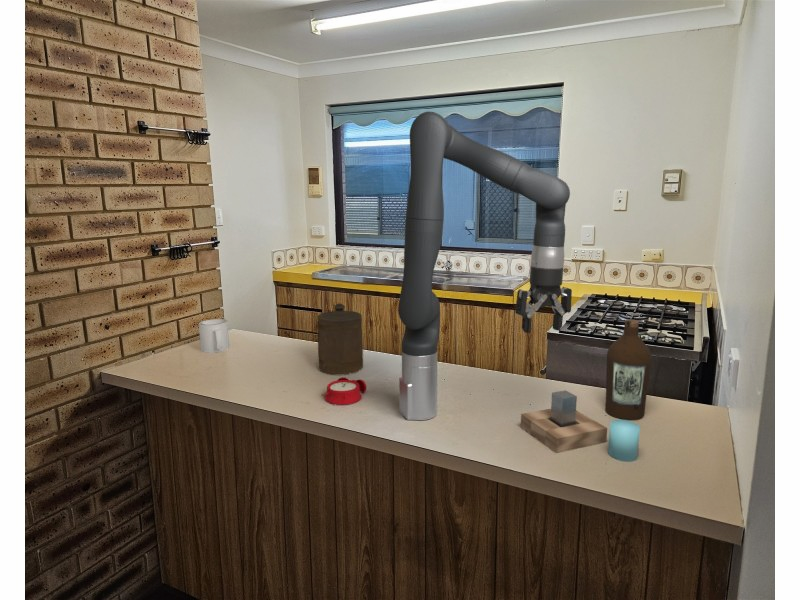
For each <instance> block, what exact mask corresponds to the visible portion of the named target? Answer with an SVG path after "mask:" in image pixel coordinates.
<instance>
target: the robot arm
mask: <svg viewBox="0 0 800 600" xmlns="http://www.w3.org/2000/svg"><path fill="white" fill-rule="evenodd" d="M409 150H410V152H409V153H410V155H409V156H410V175H409V185H408V191H407V202H406V211H405V212H406V213H405V222H404V224H405V226H404V245H403V246H404V247H403V248H404V250H403V252H404V253H403V276H402V283H401V289H400V294H399V300H398V306H397V311H398V313H397V314H398V317H399V319H400V321H401V323H402V324H403V325H404V326H405V327H404V334H403V337H402V340H401V377H399V380H398V381H399V386H398V388H399V390H398V391H399V392H398V393H399V394H398V395H399V413H400V414H401V415H402V416H403V417H404V418H405V419H406V420H407V421H411V420H412V421H425V420H430V419H433V418H435V417H436V416H437V415H438V347H439V345H438V344H439V339H440V331H441V330H440V328H441V327H440V326H441V324H440V323H441V306H440V301H439V298H438V296H437V295H436V293H435V292H434V291H433V278H434V277H433V276H434V270H435V266H436V264H437V260H438V258H439V257H438V256H439V252H440V250H441V247H442V240H443V233H444V232H443V231H444V221H445V220H444V219H445V207H444V206H445V204H444V193H443V184H442V183H443V182H442V181H443V180H442V176H443V175H442V172H443V164H444V159H446V160H449V161H452V162H454V163H456V164H459V165H461V166H463V167H465V168H467V169H470V170H472V171H473V172H474V173H476V174H478V175H479V176H481V177H483V178H485V179H487V180H488V181H491V182H492V183H494V184H496V185H498V186H500V187H502V188H504V189H506V190H508V191H510V192H512V193H515V194H518V195H521V196H523V197H525V198H527V199H528V200H530V201H532V202H534V203H535V226H534V230H533V242H532V250H531V257H530V266H529V267H530V269H529V285H530V287H529V289H528V290H524V289H520V288H519V289H518V290H517V294H516V295H517V296H516V302H515V303H516V304H515V314H516V315H519V316H521V317H522V318H521V328H522V329H521V330H522V331H523V332H524V333H525V334H530V333H531V332H532V319H533V318H532V317H533V315H534V313H535V312H538V310H539V309H540V308H541V309H542V308H546V307H547V308H552V311H553V312H554V313H553V317H552V329H553V330H554V331H561V329H562V327H563V321H564V315H565V314H567V313H568V314H570V313H571V312H572V294H573V293H572V292H573V290H572V288H568V287H565V286H562V284H563V277H564V268H565V267H564V266H565V265H564V264H565V240H566V239H565V238H566V224H565V214H566V206H567V203H568V201H569V200H570V198H571V197H570V195H571V191H570V187H569V185H568V183H566V181H564V180H563V179H561V178H559V177H556V176H554V175H552V174H550V173H547V172H545V171H543V170H540V169H537V168H534V167H533V166H532V165H530V164H529V163H526V162H524V161H522V160H521V159H518V158H516V157H514V156H513V155H510V154H508V153H505V152H503V151H501V150H499V149H498V150H497V149H495V148H493V147H490V146H488V145H484V144H482V143H479V142H477V141H476V140H474V139H471V138H469V137H468V136H466V135H465V134H463V133H462V132H460V131H459V130H457V129H456V128H454V127H453V126H452V125H450V124H449V122H448V121H447V120H446V119H445V118H444V116H442V115H441V114H439V113H437V112H434V111H424V112H422V113H420V114H419V115H418V116H416V117H415V119H414V120H413V122H412V123H411V125H410V128H409ZM561 286H562V287H561ZM559 297H560V300H559ZM528 299H529V300H528Z"/></svg>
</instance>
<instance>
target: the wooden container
mask: <svg viewBox="0 0 800 600" xmlns="http://www.w3.org/2000/svg"><path fill="white" fill-rule="evenodd" d="M333 308H334V310H333V311H324V312H322V313H320V314H318V315H317V351H318V353H317V355H318V358H317V359H318V370H319V369H320V370H319V371H320V372H321V373H325V374H329V375H333V374H344V375H350V374H349V373H351V374H354V372H355V373H357V372H359V370H360V371H361V370H362V369H363V368H364V358H363V357H364V353H363V352H364V349H363V346H364V345H363V330H362V329H363V328H362V324H363V323H362V322H363V319H362V318H363V316H362V314H361V313H360V312H358V311H352V310H345V308H346V306H345V305H344V304H343V303H336V304H334V307H333Z"/></svg>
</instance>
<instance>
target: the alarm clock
mask: <svg viewBox="0 0 800 600" xmlns="http://www.w3.org/2000/svg"><path fill="white" fill-rule="evenodd" d="M360 391H362V393H361V392H360ZM366 391H367V383H366V382H365V380H363V379H356V380H355V379H349V378H347V377H344V376H343V377H340V378H338V379H337V380H334V381H331V382H329V383H328V384H327V386H326V393H321V396H324V395H325V396H324V400H325V402H327V403H328V402H329V404H331V405H333V404H337V405H336V406H344V405H345V406H346V405H352V404H355V403H357V402H360V401H361V400H362V398H363V397H362V394H365V392H366Z"/></svg>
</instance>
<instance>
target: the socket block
mask: <svg viewBox="0 0 800 600" xmlns="http://www.w3.org/2000/svg"><path fill="white" fill-rule="evenodd" d="M550 420H551V408H547V409H541V410H536V411H530V412H525V413H521V414H520V428H521V429H522V428H523V430H524V431H525V432H526V433H528V434H529V435H531V436H532V437H533V438H535V439H536V440H537V441H539V442H540V443H542V444H543V445H545V446H546V447H548V448H549V449H550V450H552V451H553V452H555V453H556V454H559V453H562V452H567V451H571V450H572V451H573V450H576V449H580V448H581V449H582V448H585V447H589V446H590V447H591V446H594V445H598V444H604V443H607V440H608V439H607V436H608V427H607V426H604V425H603V424H601V423H599V421H596V420H594V419H593V418H591V417H589V416H587V415H585V414H583V413H582V412H580V411H578V410H577V409H576V418H575V425H571V426H566V427H559V426H558V425H556V424H554V423H553V422H551V421H550Z"/></svg>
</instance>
